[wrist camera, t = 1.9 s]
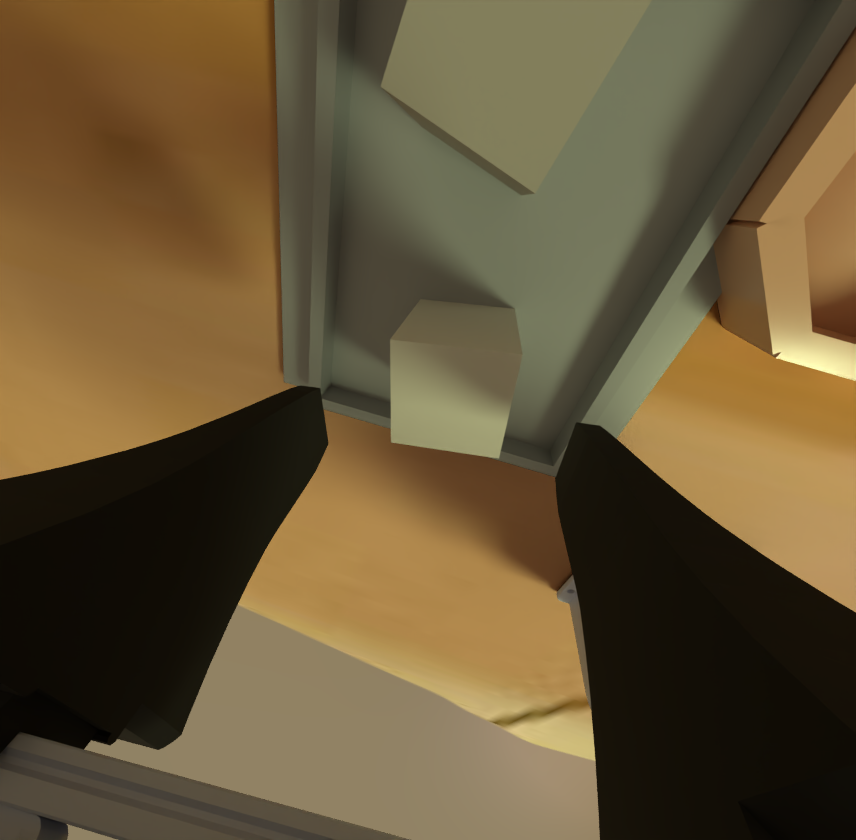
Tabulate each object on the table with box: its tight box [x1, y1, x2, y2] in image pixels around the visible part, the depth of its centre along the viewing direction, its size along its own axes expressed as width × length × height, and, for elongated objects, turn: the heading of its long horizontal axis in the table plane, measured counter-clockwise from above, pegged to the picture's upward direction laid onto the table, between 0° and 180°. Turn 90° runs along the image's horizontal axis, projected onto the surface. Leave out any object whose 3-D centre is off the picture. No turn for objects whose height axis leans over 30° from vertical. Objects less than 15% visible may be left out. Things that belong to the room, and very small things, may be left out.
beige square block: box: [380, 0, 652, 195], centre depth 8 cm, size 4×4×5 cm
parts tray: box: [274, 0, 856, 477], centre depth 13 cm, size 17×17×2 cm
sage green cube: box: [390, 299, 523, 459], centre depth 13 cm, size 4×4×5 cm
